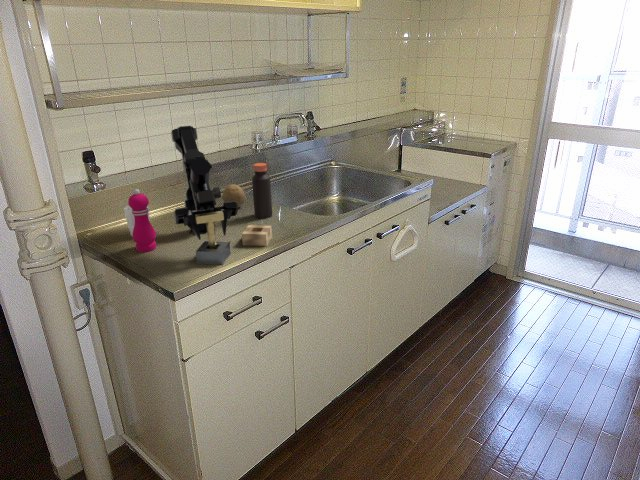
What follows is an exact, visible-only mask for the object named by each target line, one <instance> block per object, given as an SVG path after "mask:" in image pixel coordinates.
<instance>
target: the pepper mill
mask: <svg viewBox="0 0 640 480" xmlns="http://www.w3.org/2000/svg"><path fill="white" fill-rule="evenodd" d="M149 203H150V201H149V198H148V196H146V195H145V194H143V193H141V191H140V189H137V188H136V189H134V190H133V194H131V195H130V196H129V198H128V202H127V205H128V206H130V207H131V208H132V210H131V211H132V215H134V218H135V225H134V229H133V234H132V236H133V237H132V236H131V237H132V240H133V241H134V242H135V243H136V244H135V249H136V251H137V252H140V253H146V252H151V251H154V250H155V249H157V242H156V241H155V240H156V237H157V232H156V230H155V227H154V226H153V224H152V223H151V220H150V221H149V219H148V212H149V213H150V211H148V209H149ZM147 206H148V208H147Z"/></svg>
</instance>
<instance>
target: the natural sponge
mask: <svg viewBox="0 0 640 480" xmlns="http://www.w3.org/2000/svg"><path fill="white" fill-rule="evenodd" d="M221 197H222V201H223V203H224V202H227V201H236V202H237V204H238V208H240V206H242V205H243V204H244V203H245V202H246V200H247V198H246V193H245V192H244V189H243V188H242V187H241V186H239V185H238V184H234V183H233V184H228V185H227V186H226V187H225V188H224V190H223V193H222V194H221Z"/></svg>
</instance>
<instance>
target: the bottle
mask: <svg viewBox="0 0 640 480" xmlns="http://www.w3.org/2000/svg"><path fill="white" fill-rule="evenodd" d="M253 172H254V175H253V176H252V177H251V184H252V185H251V187H252V196H253V197H252V199H253V211H254V217H255V218H258V219H267V218H270V217H272V216H273V201H272V185H271V184H272V183H271V177H270V176H269V174H267V172H268V164H267V163H265V162H259V163H254V164H253Z"/></svg>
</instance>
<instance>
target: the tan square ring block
mask: <svg viewBox="0 0 640 480" xmlns="http://www.w3.org/2000/svg"><path fill="white" fill-rule="evenodd" d="M272 238H273V231H272V225H258V224H257V225H256V224H248V225H247V226H246V228H245V229H244V231H243V232H242V233H241V239H242V246H260V247H261V246H264V247H267V246H268V244H269V242H270V241H271V239H272Z"/></svg>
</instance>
